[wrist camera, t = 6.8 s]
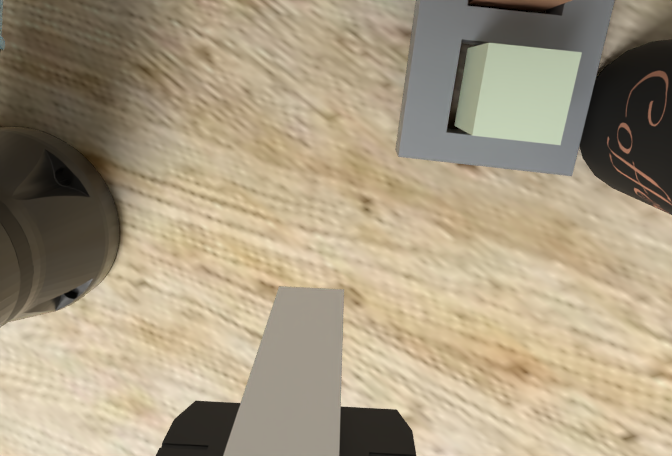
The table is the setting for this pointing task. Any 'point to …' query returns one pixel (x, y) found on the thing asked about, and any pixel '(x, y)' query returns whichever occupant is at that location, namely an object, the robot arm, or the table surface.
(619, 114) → the coffee jar
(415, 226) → the table surface
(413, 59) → the slate panel
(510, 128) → the sage button
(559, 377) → the table surface
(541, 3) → the terracotta button
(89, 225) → the robot arm
